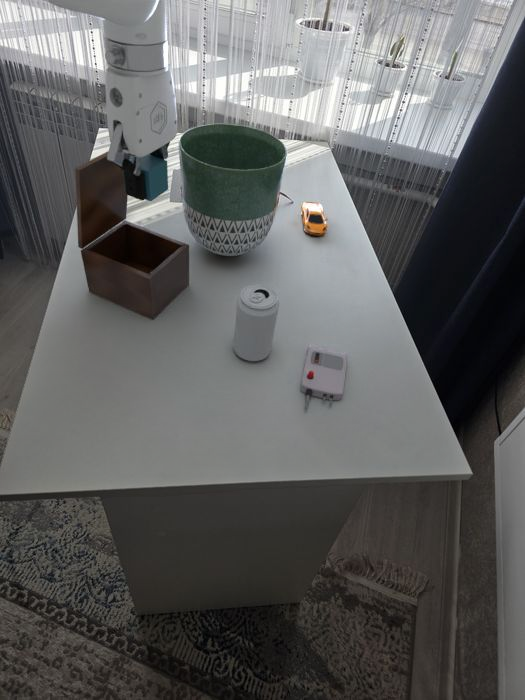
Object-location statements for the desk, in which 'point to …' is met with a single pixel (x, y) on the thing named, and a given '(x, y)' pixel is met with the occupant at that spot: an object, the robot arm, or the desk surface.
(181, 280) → the chest
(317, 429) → the desk surface
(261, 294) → the beverage can
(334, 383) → the white electronic control box
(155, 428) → the desk surface
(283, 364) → the desk surface
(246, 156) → the planter
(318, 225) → the toy car
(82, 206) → the lid
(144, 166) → the block
